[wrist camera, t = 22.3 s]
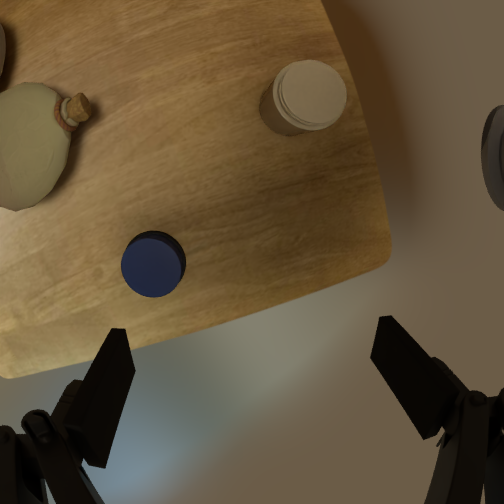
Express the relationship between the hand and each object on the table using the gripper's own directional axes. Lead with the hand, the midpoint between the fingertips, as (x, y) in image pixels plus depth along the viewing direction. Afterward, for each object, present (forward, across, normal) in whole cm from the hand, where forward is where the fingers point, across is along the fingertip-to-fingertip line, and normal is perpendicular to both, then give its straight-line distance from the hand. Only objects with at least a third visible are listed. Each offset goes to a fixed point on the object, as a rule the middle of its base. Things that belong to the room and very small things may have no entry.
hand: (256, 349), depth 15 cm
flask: (+24, -25, +14) cm, 37 cm away
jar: (+24, +6, +15) cm, 29 cm away
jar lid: (+21, -10, -3) cm, 24 cm away
